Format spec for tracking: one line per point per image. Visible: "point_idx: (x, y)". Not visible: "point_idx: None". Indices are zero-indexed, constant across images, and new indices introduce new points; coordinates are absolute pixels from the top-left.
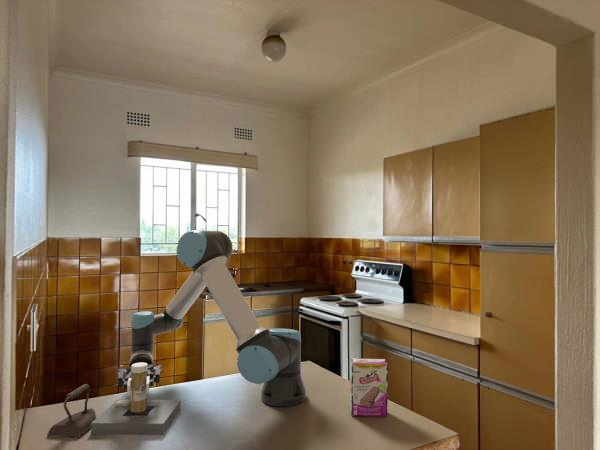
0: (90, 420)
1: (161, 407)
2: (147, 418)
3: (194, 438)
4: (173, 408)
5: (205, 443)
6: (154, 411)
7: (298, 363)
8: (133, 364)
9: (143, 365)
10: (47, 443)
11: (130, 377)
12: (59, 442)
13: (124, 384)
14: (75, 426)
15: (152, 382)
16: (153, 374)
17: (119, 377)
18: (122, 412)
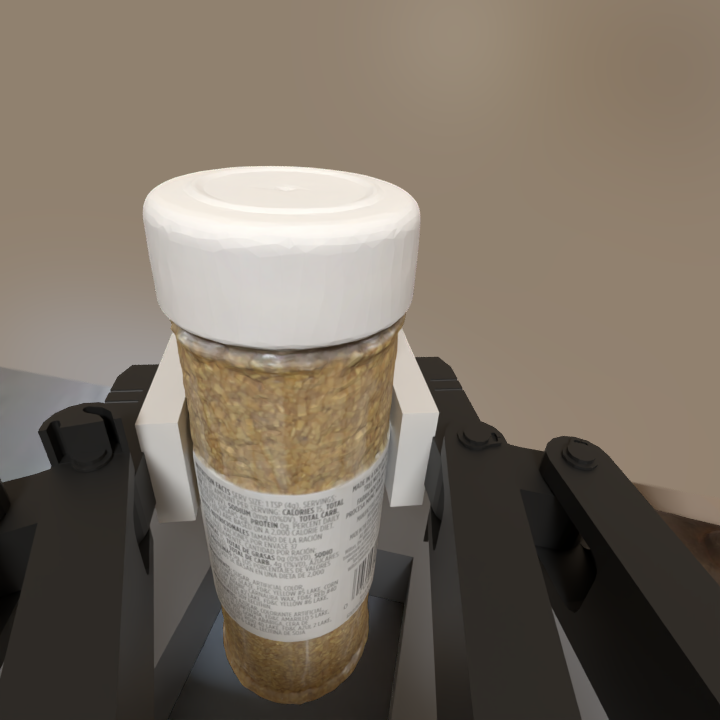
0: None
1: None
2: None
3: (37, 409)
4: None
5: (20, 375)
6: (163, 580)
7: None
8: (392, 198)
9: (224, 170)
10: (714, 503)
11: (446, 514)
12: (660, 500)
13: (436, 359)
14: (656, 510)
15: (137, 374)
16: (53, 442)
17: (607, 472)
18: (431, 625)
